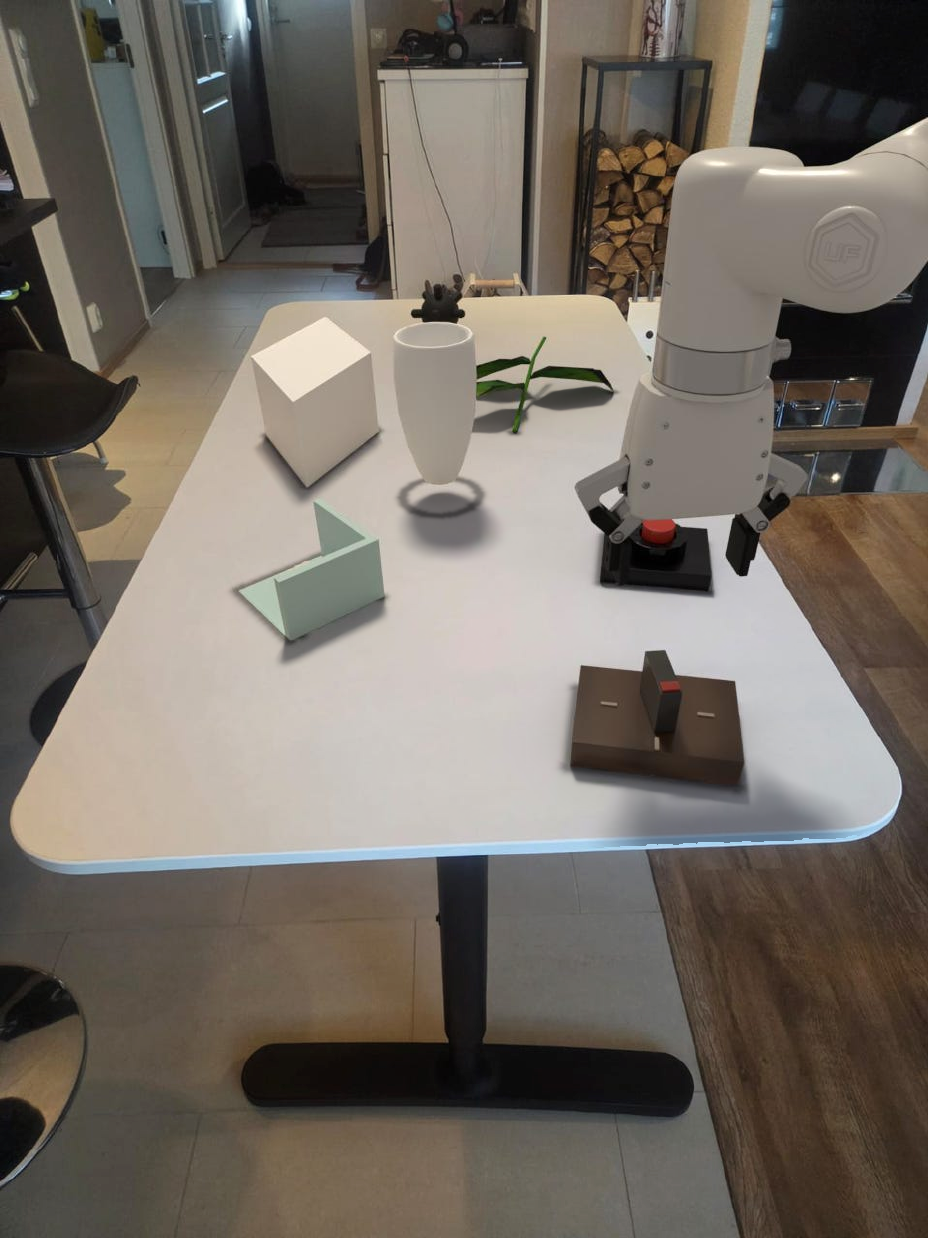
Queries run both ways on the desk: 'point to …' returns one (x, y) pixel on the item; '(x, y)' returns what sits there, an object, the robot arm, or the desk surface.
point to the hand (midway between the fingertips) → (677, 571)
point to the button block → (668, 561)
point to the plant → (531, 376)
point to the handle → (660, 691)
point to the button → (658, 530)
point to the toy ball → (439, 307)
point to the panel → (626, 740)
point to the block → (316, 397)
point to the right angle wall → (323, 578)
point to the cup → (436, 395)
